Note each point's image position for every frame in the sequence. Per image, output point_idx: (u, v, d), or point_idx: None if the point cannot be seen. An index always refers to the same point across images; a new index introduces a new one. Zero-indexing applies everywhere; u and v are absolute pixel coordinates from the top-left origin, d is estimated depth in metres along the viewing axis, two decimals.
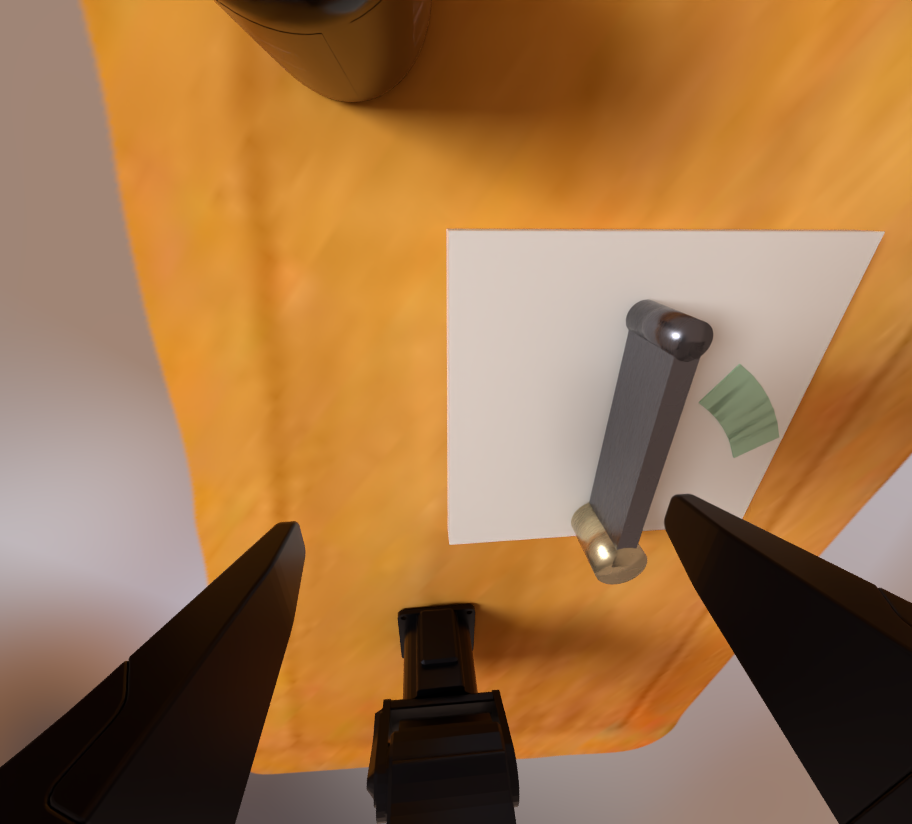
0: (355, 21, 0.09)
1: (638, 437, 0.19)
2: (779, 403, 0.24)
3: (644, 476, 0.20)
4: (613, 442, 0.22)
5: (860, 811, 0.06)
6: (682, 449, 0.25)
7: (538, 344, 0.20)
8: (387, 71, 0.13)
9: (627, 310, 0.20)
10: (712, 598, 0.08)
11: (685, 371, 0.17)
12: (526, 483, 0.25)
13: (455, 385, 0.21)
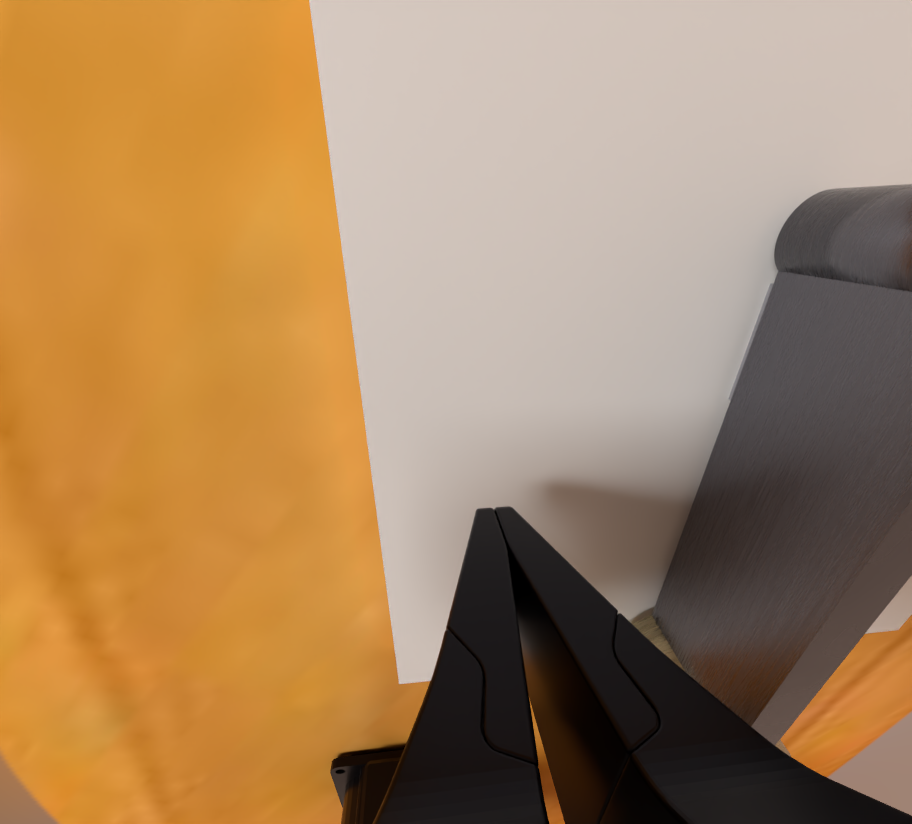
0: None
1: (818, 531, 0.08)
2: None
3: (833, 627, 0.08)
4: (722, 521, 0.10)
5: None
6: None
7: (562, 308, 0.09)
8: None
9: (775, 223, 0.08)
10: None
11: None
12: None
13: (376, 406, 0.09)
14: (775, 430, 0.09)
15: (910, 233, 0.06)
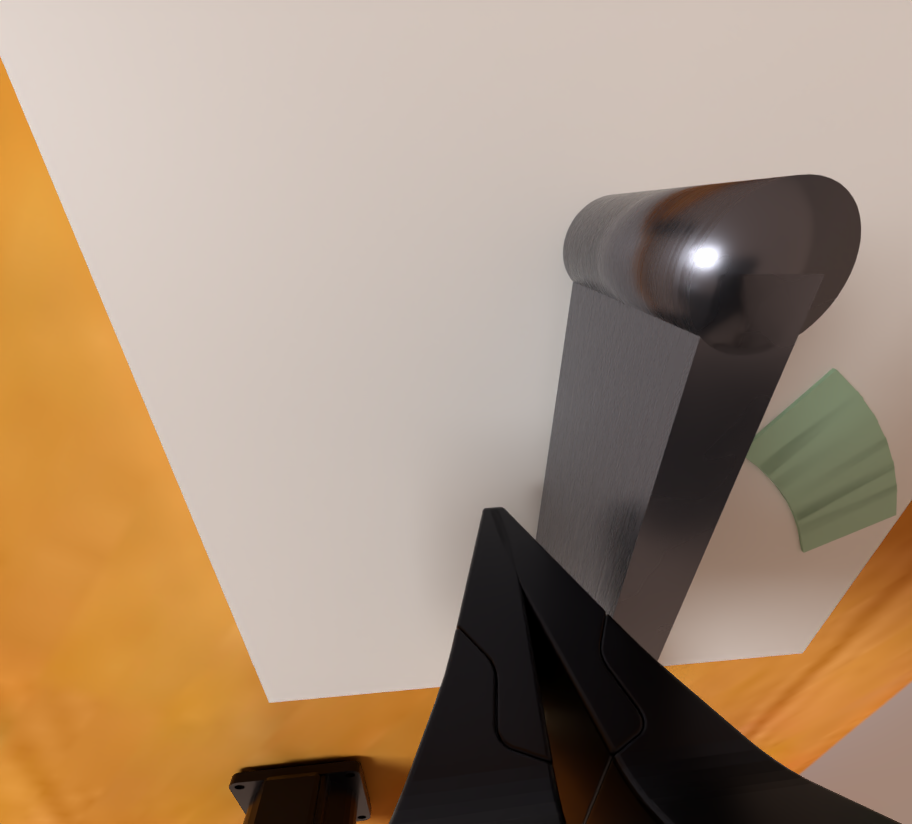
0: None
1: (595, 562, 0.07)
2: (906, 451, 0.11)
3: None
4: (551, 544, 0.10)
5: None
6: None
7: (348, 318, 0.08)
8: None
9: (565, 230, 0.08)
10: None
11: (735, 393, 0.05)
12: (392, 604, 0.13)
13: (167, 419, 0.09)
14: (573, 451, 0.08)
15: (623, 244, 0.05)
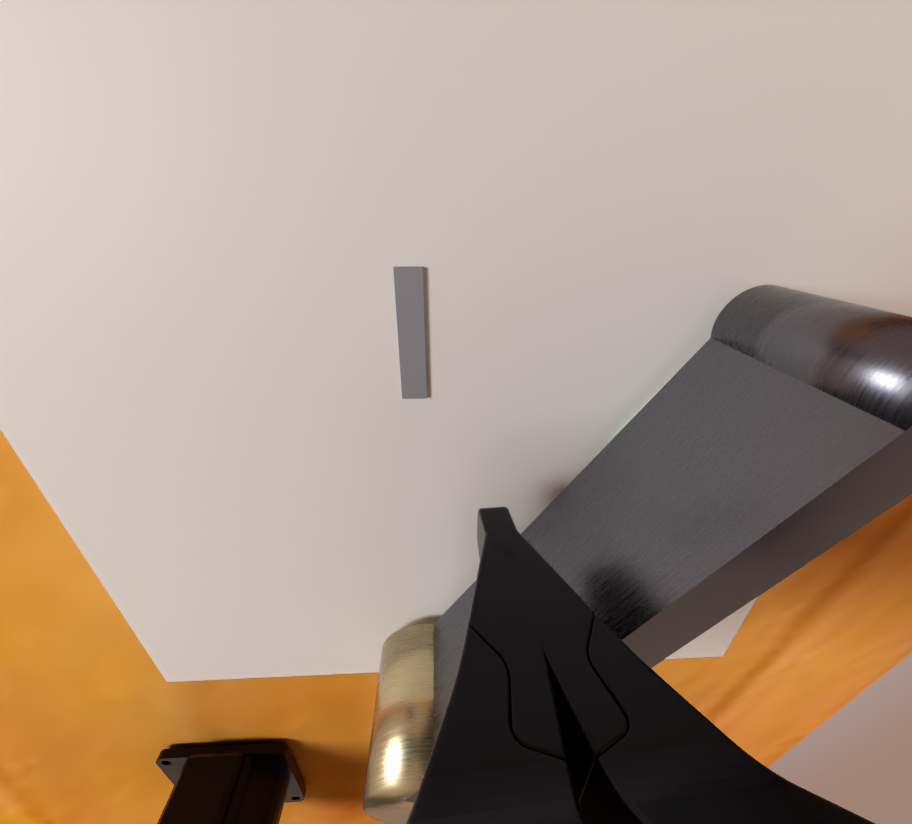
0: None
1: (623, 578, 0.08)
2: None
3: None
4: (544, 549, 0.10)
5: None
6: None
7: (153, 289, 0.08)
8: None
9: (368, 195, 0.07)
10: None
11: (879, 488, 0.05)
12: (270, 589, 0.12)
13: None
14: (635, 476, 0.08)
15: (835, 329, 0.06)
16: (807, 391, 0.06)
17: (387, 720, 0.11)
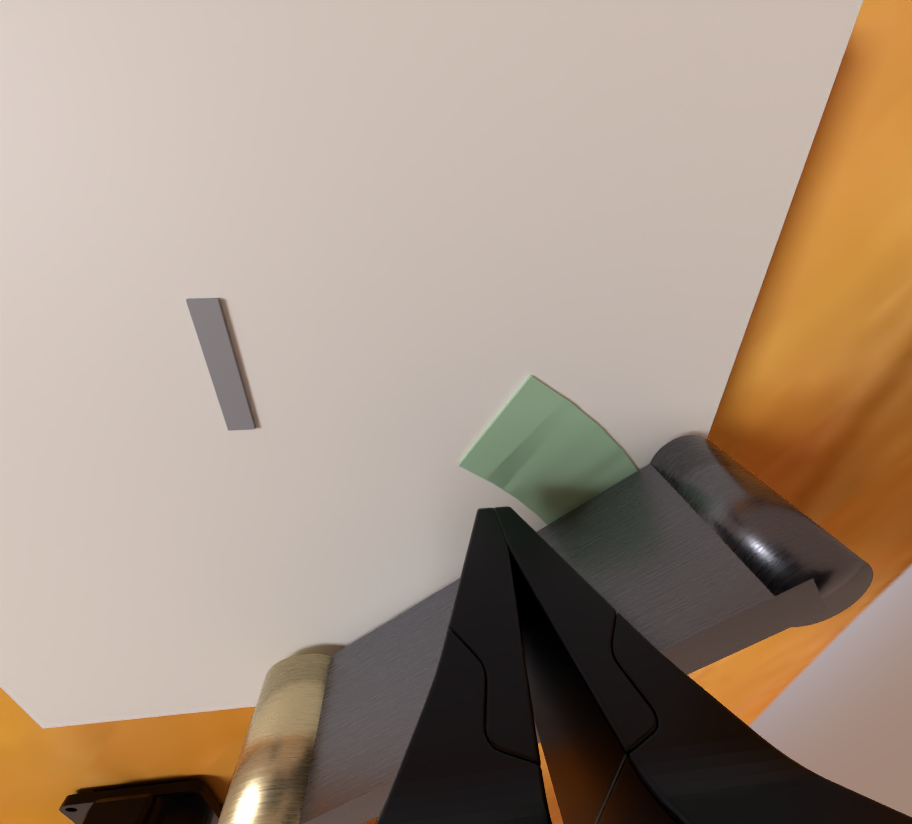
0: None
1: None
2: None
3: None
4: None
5: None
6: (460, 555, 0.12)
7: None
8: None
9: (143, 228, 0.07)
10: None
11: (747, 632, 0.07)
12: (133, 627, 0.12)
13: None
14: None
15: (743, 498, 0.08)
16: (714, 539, 0.08)
17: (260, 755, 0.10)
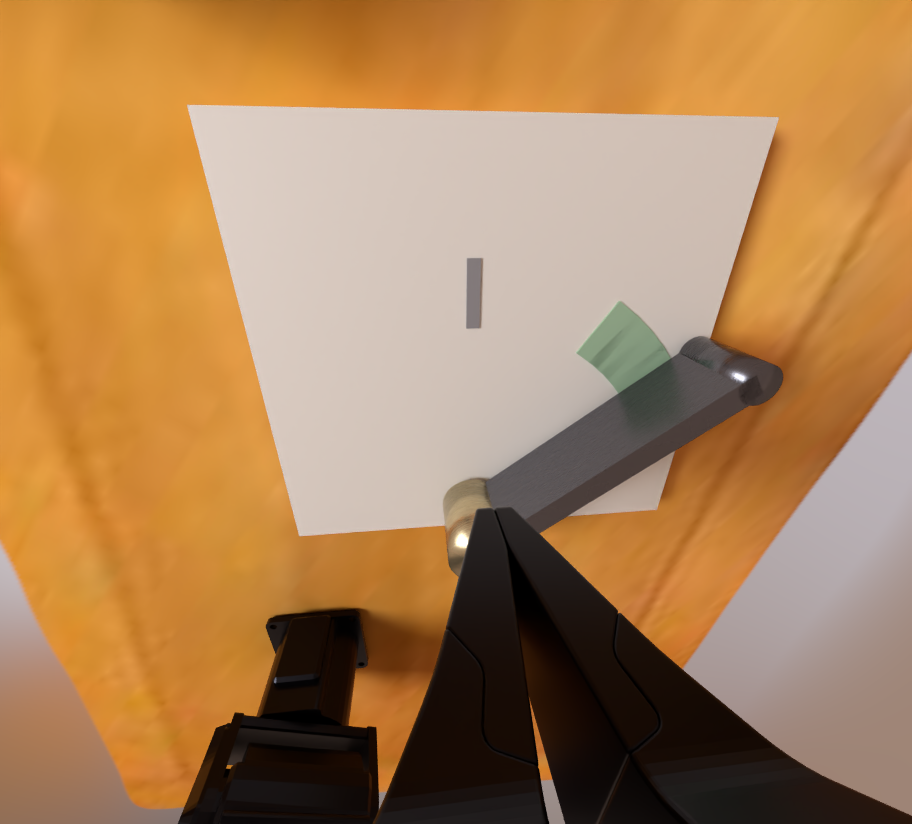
0: None
1: (626, 438, 0.17)
2: None
3: (603, 476, 0.17)
4: (578, 436, 0.19)
5: None
6: (567, 414, 0.20)
7: (349, 271, 0.16)
8: None
9: (457, 225, 0.16)
10: None
11: (729, 407, 0.16)
12: (377, 458, 0.20)
13: (253, 327, 0.17)
14: (635, 403, 0.18)
15: (727, 353, 0.16)
16: (714, 373, 0.16)
17: (466, 514, 0.19)
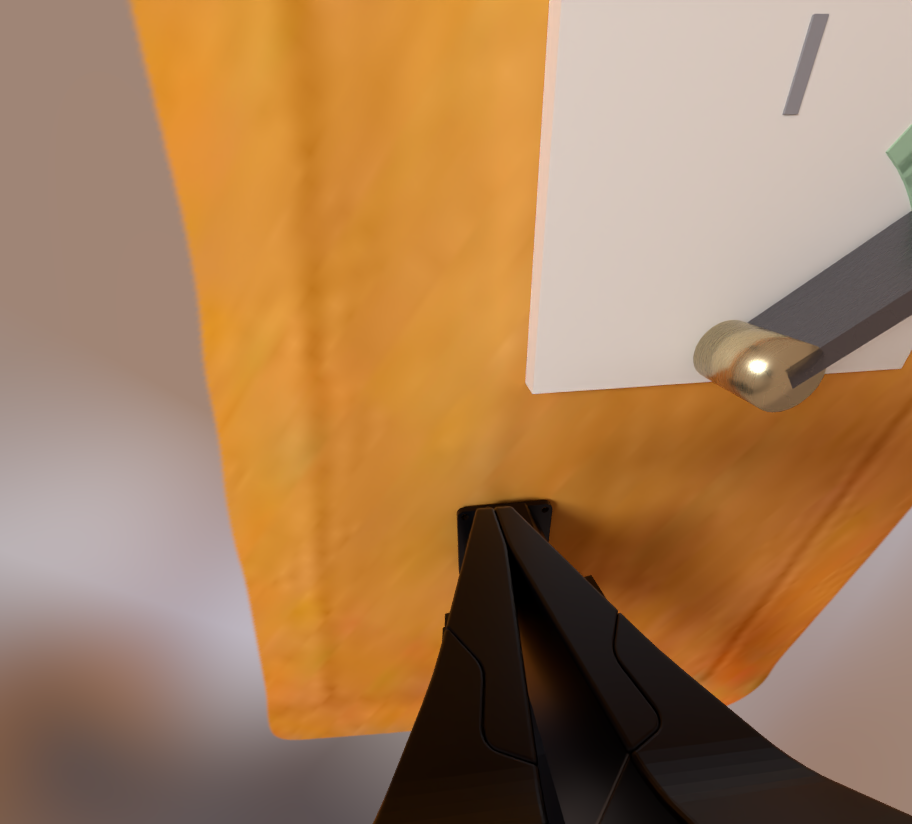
0: None
1: None
2: None
3: None
4: (880, 250, 0.17)
5: None
6: (850, 237, 0.18)
7: (684, 30, 0.14)
8: None
9: None
10: None
11: None
12: (640, 291, 0.19)
13: (562, 108, 0.15)
14: None
15: None
16: None
17: (762, 337, 0.17)
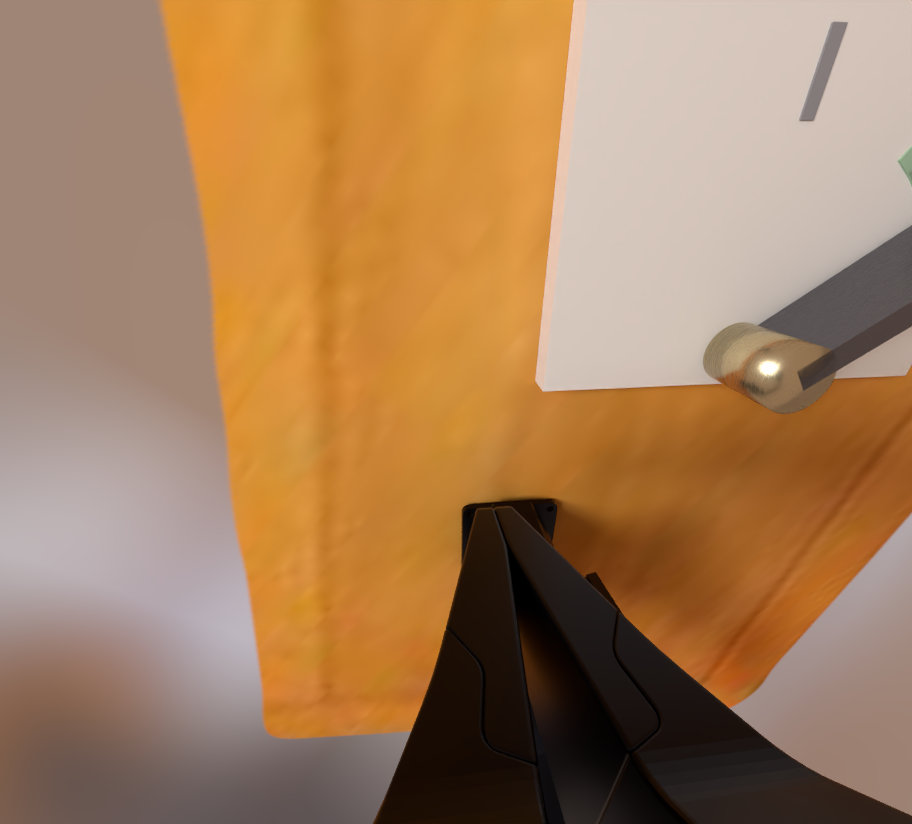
0: None
1: None
2: None
3: None
4: (890, 257, 0.17)
5: None
6: (860, 244, 0.19)
7: (706, 33, 0.14)
8: None
9: None
10: None
11: None
12: (653, 292, 0.19)
13: (583, 106, 0.15)
14: None
15: None
16: None
17: (774, 339, 0.17)
